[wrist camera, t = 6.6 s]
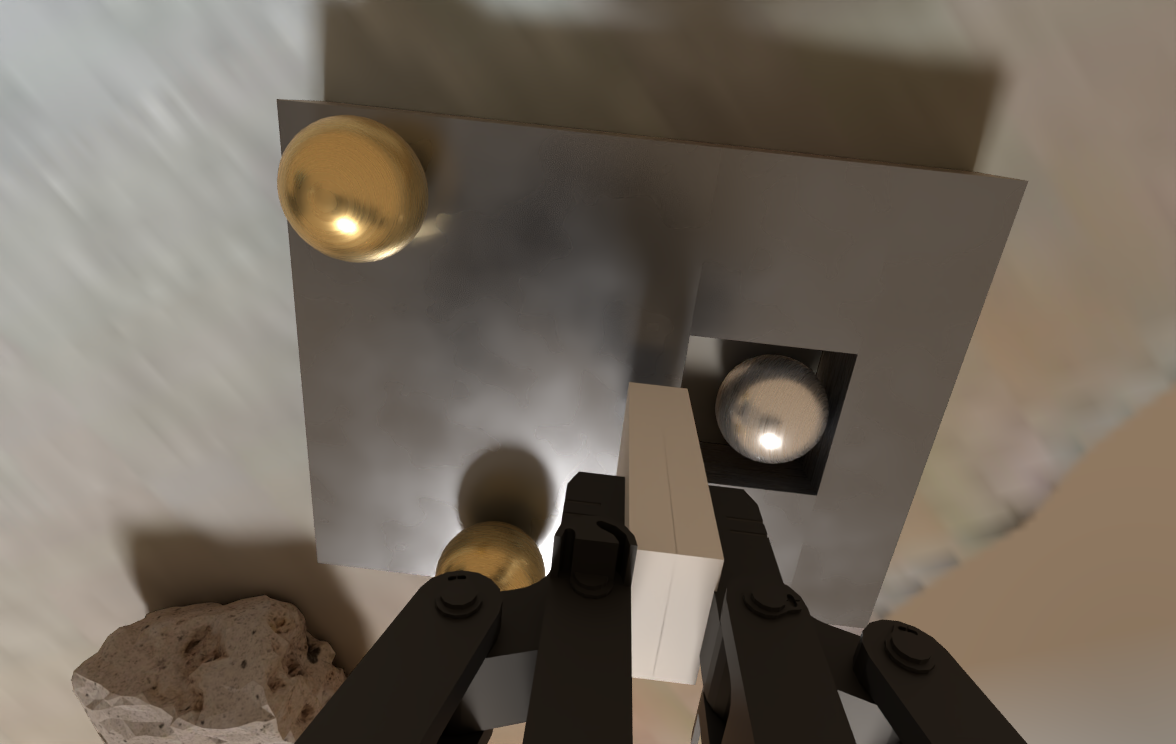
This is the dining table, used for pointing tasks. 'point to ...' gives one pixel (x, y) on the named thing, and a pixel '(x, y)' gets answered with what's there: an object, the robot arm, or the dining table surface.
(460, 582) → the robot arm
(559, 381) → the plate
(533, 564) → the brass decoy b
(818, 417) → the steel ball
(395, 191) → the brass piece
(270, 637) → the stone
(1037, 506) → the dining table surface
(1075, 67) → the dining table surface
